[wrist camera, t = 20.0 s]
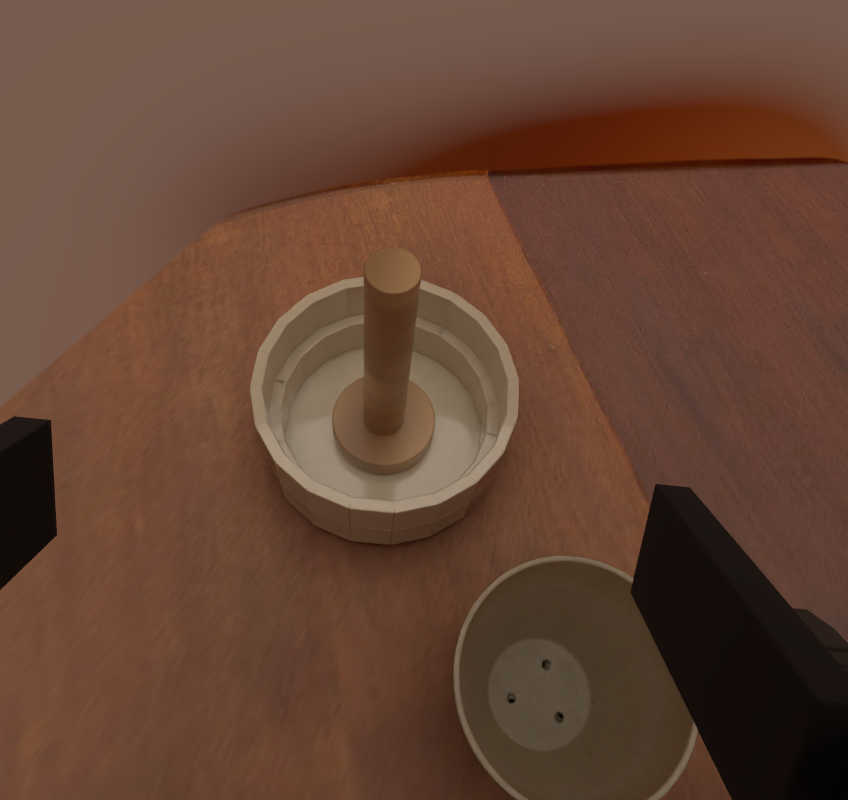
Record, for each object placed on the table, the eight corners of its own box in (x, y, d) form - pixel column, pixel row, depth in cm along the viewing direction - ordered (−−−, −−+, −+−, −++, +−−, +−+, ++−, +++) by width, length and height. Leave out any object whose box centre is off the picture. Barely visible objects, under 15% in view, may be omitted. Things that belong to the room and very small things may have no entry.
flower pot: (567, 864, 31) (620, 892, 25) (394, 710, 33) (401, 699, 27) (675, 677, 35) (744, 659, 29) (513, 551, 37) (544, 508, 31)
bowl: (501, 347, 43) (521, 289, 38) (494, 559, 37) (516, 525, 32) (288, 323, 43) (277, 262, 37) (244, 534, 37) (225, 495, 31)
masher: (436, 390, 41) (469, 221, 28) (428, 480, 38) (462, 340, 25) (340, 380, 40) (329, 204, 28) (326, 470, 38) (307, 322, 25)
